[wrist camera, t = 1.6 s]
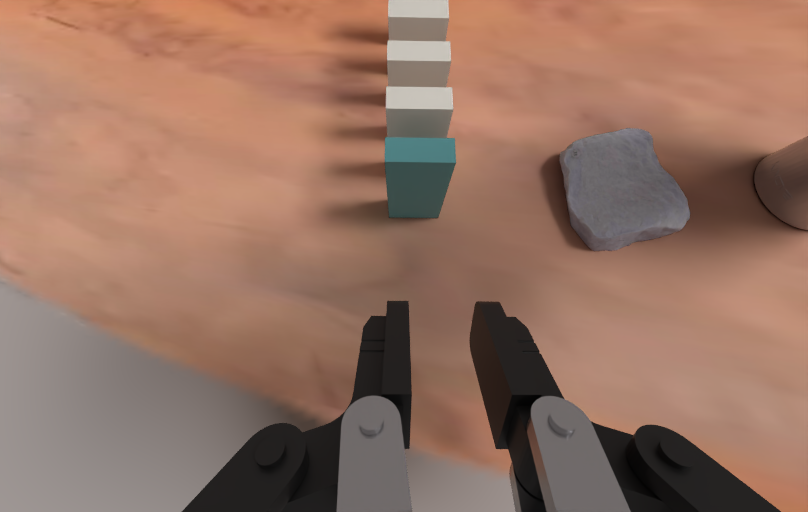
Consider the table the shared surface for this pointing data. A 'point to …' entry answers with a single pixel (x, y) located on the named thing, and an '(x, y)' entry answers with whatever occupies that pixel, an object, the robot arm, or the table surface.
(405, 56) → the domino
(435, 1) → the domino
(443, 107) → the domino
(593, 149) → the stone block
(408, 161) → the domino
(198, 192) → the table surface
